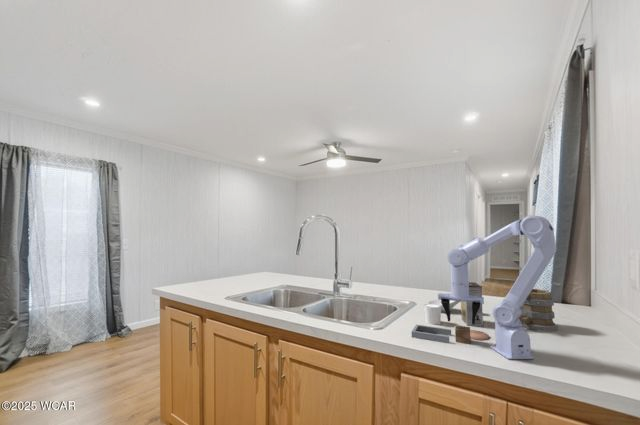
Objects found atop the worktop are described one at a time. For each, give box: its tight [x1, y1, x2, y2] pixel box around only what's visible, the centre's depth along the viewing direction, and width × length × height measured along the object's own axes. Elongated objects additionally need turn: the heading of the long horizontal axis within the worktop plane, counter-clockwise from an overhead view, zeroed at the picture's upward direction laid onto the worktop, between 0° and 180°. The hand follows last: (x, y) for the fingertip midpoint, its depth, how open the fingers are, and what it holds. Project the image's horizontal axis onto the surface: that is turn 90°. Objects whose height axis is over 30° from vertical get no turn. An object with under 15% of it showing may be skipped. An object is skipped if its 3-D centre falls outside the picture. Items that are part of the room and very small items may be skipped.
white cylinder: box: [423, 303, 442, 325], centre depth 124 cm, size 7×7×7 cm
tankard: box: [519, 288, 559, 332], centre depth 117 cm, size 20×13×15 cm, turn 110°
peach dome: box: [470, 329, 490, 341], centre depth 107 cm, size 9×9×1 cm
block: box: [454, 325, 472, 345], centre depth 103 cm, size 4×4×4 cm
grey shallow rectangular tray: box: [411, 324, 452, 344], centre depth 107 cm, size 12×9×2 cm
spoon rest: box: [426, 299, 461, 313], centre depth 140 cm, size 24×12×7 cm, turn 65°
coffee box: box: [460, 281, 484, 327], centre depth 123 cm, size 9×6×16 cm
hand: (461, 322), depth 103 cm, fingers open, 7 cm apart
